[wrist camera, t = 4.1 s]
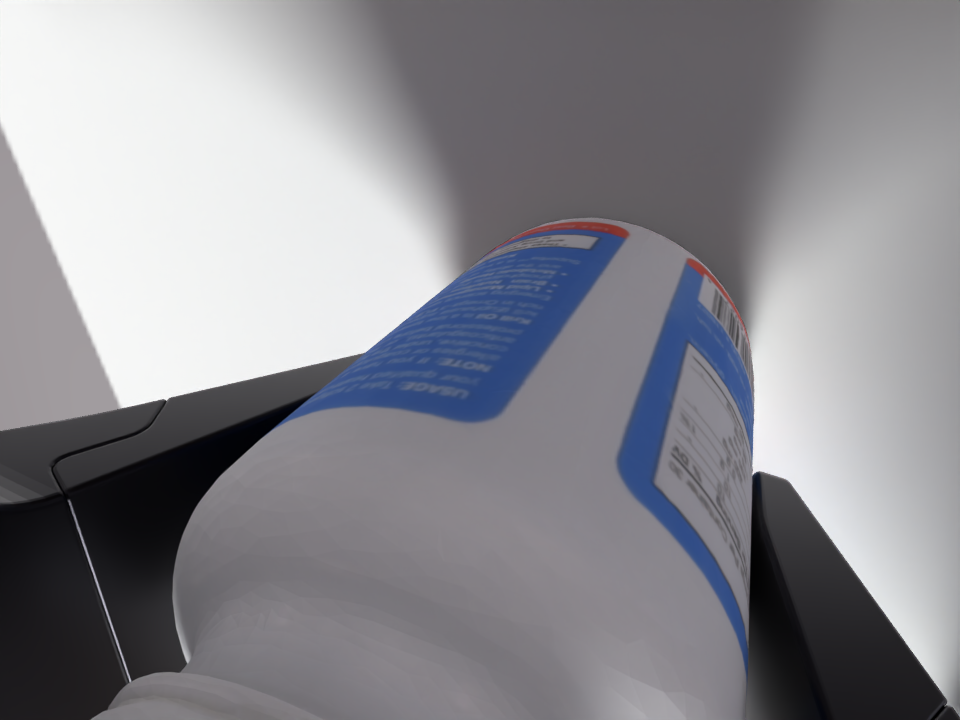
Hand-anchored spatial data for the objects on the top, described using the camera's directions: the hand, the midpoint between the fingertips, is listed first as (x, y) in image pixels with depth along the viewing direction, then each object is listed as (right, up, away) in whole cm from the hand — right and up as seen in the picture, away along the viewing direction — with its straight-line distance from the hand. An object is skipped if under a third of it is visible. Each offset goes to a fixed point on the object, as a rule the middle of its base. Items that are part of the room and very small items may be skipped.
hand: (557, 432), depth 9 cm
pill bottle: (+1, +1, +2) cm, 3 cm away
